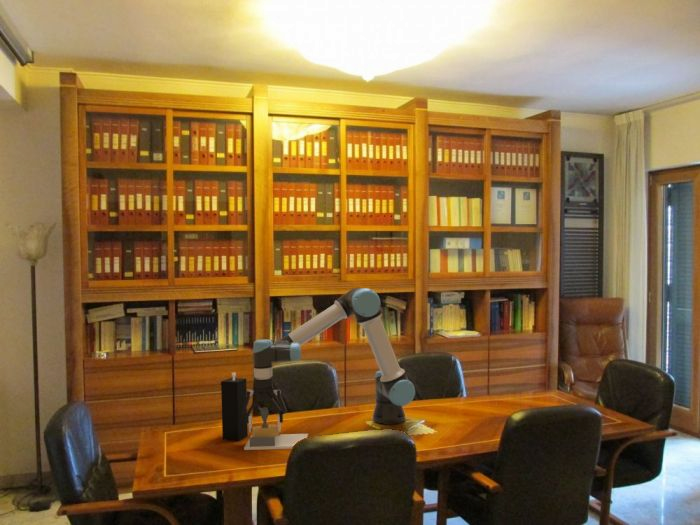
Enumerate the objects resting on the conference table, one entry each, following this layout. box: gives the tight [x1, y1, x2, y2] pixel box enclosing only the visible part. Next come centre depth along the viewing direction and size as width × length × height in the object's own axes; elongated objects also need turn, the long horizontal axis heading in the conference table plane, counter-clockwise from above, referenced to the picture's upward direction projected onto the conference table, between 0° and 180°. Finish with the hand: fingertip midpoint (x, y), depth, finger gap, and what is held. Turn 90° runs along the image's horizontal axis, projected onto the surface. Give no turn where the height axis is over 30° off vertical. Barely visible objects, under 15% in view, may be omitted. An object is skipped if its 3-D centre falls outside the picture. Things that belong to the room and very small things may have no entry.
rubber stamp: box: [251, 406, 280, 437], centre depth 225 cm, size 10×6×12 cm, turn 115°
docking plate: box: [243, 431, 309, 451], centre depth 225 cm, size 24×16×4 cm, turn 90°
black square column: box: [220, 371, 249, 442], centre depth 233 cm, size 8×8×28 cm
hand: (264, 430), depth 225 cm, fingers closed on rubber stamp, 11 cm apart
